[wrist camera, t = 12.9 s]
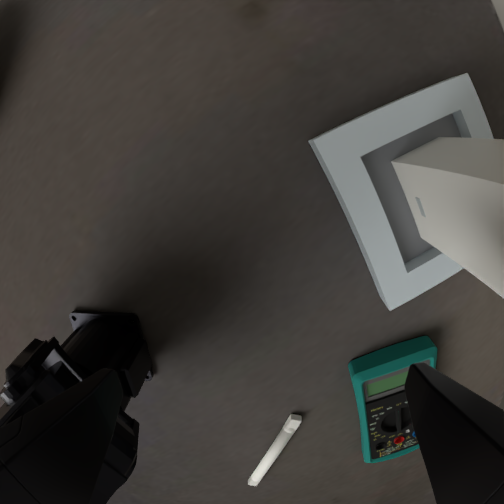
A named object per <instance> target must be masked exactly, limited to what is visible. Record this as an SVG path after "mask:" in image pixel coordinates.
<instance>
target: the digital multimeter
mask: <svg viewBox="0 0 504 504" xmlns="http://www.w3.org/2000/svg"><path fill="white" fill-rule="evenodd" d="M436 360H437V347H436V346H435V344H434V343H433V342H432V340H431V339H430V338H429V336H422V337H418V338H415V339H411V340H407V341H404V342H401V343H397V344H394V345H391V346H388V347H385V348H382V349H380V350H377V351H375V352H372V353H369V354H367V355H364V356H362V357H359V358H357V359H354V360H352V361H350V363H349V364H348V368H349V372H350V376H351V380H352V384H353V388H354V392H355V397H356V402H357V407H358V413H359V419H360V429H361V443H362V453H363V457H364V461H365V462H366V463H376V462H381V461H386V460H389V459H393V458H396V457H399V456H402V455H405V454H407V453H409V452H412V451H414V450H416V449H418V448H420V447H419V444H418V441H417V438H416V435H415V432H414V428H413V424H412V420H411V415H410V411H409V406H408V402H407V398H406V394H405V388H404V386H405V381H406V378H407V374H408V371H409V367H410V365H411V364H413V363H418V362H424V363H426V364H428V365H429V366H431V367H433V368H434V369H436ZM366 412H367V413H366ZM368 429H369V430H368Z"/></svg>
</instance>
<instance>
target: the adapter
mask: <svg viewBox="0 0 504 504" xmlns="http://www.w3.org/2000/svg"><path fill="white" fill-rule="evenodd" d="M391 163H392V165H393V167H394V169H395V172H396V174H397V176H398V179H399V181H400V184H401V186H402V188H403V191H404V193H405V196H406V198H407V201H408V204H409V206H410V209H411V211H412V214H413V217H414V220H415V222H416V225H417V228H418V231H419V234H420V237H421V238H422V239H423V240H425V241H426V242H428V243H429V244H431V245H432V246H434V247H435V248H437V249H438V250H439V251H441V252H442V253H444V254H445V255H447V256H448V257H449V258H451V259H452V260H454V261H455V262H456V263H458V264H459V265H461V266H462V267H463V268H465V269H466V270H467V271H469V272H470V273H471V274H473V275H474V276H475V277H477V278H478V279H479V280H481V281H482V282H483V283H485V284H486V285H487V286H488V287H490V288H491V289H492V290H494V291H495V292H496V293H497V294H499V295H500V296H501V297H502V298H504V140H503V139H486V138H460V137H438V138H436V139H434V140H432V141H430V142H428V143H426V144H424V145H422V146H420V147H418V148H416V149H414V150H412V151H410V152H408V153H406V154H404V155H402V156H400V157H398V158H396V159H395V160H393V161H391Z"/></svg>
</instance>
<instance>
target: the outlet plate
mask: <svg viewBox="0 0 504 504" xmlns="http://www.w3.org/2000/svg"><path fill="white" fill-rule="evenodd" d="M438 137H460V138H486V139H494V138H493V135H492V132H491V129H490V126H489V123H488V121H487V118H486V115H485V113H484V110H483V107H482V105H481V102H480V100H479V98H478V95H477V93H476V90H475V88H474V86H473V84H472V81H471V79H470V77H469V75H468V73H465V74H461V75H458V76H455V77H451V78H449V79H446V80H443V81H441V82H438V83H436V84H433V85H431V86H428V87H426V88H423V89H421V90H418V91H416V92H413V93H411V94H409V95H406V96H404V97H401V98H399V99H397V100H394V101H392V102H390V103H388V104H385V105H383V106H381V107H378V108H376V109H374V110H372V111H370V112H367V113H365V114H363V115H361V116H359V117H356V118H354V119H352V120H350V121H348V122H346V123H344V124H341V125H339V126H337V127H335V128H333V129H331V130H329V131H327V132H325V133H323V134H321V135H319V136H317V137H315V138H313V139H311V140H309V141H308V142H309V144H310V146H311V147H312V149H313V151H314V153H315V155H316V157H317V159H318V161H319V163H320V165H321V167H322V169H323V171H324V172H325V174H326V176H327V178H328V180H329V182H330V184H331V186H332V189H333V191H334V193H335V195H336V197H337V199H338V201H339V203H340V205H341V207H342V209H343V211H344V214H345V216H346V218H347V220H348V222H349V224H350V227H351V229H352V231H353V233H354V236H355V238H356V240H357V242H358V245H359V247H360V249H361V252H362V254H363V256H364V259H365V261H366V263H367V266H368V268H369V271H370V273H371V275H372V278H373V280H374V283H375V285H376V288H377V290H378V293H379V296H380V297H381V299H382V300H383V302H384V303H385V305H386V306H387V308H388V309H389V311H391V310H393V309H395V308H396V307H398V306H400V305H402V304H404V303H406V302H407V301H409V300H411V299H413V298H415V297H416V296H418V295H420V294H422V293H423V292H425V291H427V290H429V289H430V288H432V287H434V286H435V285H437V284H439V283H441V282H442V281H444V280H446V279H447V278H449V277H450V276H452V275H454V274H455V273H457V272H459V271H460V270H462V269H463V267H462V266H461V265H459V264H458V263H456V262H455V261H454V260H452V259H451V258H449V257H448V256H447V255H445V254H444V253H442V252H441V251H439V250H438V249H437V248H435V247H434V246H432V245H431V244H429V243H428V242H426V241H425V240H423V239H422V238H421V237H420V234H419V231H418V228H417V225H416V222H415V220H414V217H413V214H412V211H411V209H410V206H409V204H408V201H407V198H406V196H405V193H404V191H403V188H402V186H401V184H400V181H399V179H398V176H397V174H396V172H395V169H394V167H393V165H392V163H391V161H393V160H395V159H396V158H398V157H400V156H402V155H404V154H406V153H408V152H410V151H412V150H414V149H416V148H418V147H420V146H422V145H424V144H426V143H428V142H430V141H432V140H434V139H436V138H438Z"/></svg>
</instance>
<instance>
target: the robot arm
mask: <svg viewBox="0 0 504 504" xmlns="http://www.w3.org/2000/svg"><path fill="white" fill-rule="evenodd" d="M74 316H75V317H76V318H75V317H74ZM69 317H70V321H71V324H72V327H73V330H74V332H73V333H72V334H71V335H70V336H69V337H68V338H67V339H66V341H65V342H64V343H63V344H62V345H61V346H60V345H59V344H58V343H59V342H58V341H57V339H56V338H55V337H52V338H51V339H50V340H49V341H48V342H47V341H46V340H45V341H41V340H38V339H36V338H35V339H34V340H33V341H32V342H31V343H30V344H29V345H28V346H27V347H26V348H25V349H24V350H23V351H22V352H21V353H20V354H19V355H18V356H17V357H16V359H15V360H14V361H13V362H12V363H11V364H10V365H9V366H8V367H7V369H6V370H5V372H6V382H5V383H4V385H3V386H4V388H3V389H2V391H1V392H0V398H1V399H2V400H3V401H4V402H5V403H4V404H3V405H2V407H1V408H0V504H106V503H107V501H108V500H109V498H110V497H111V496H112V495H113V494H114V493H115V491H116V490H117V489H118V488H119V487H120V486H122V485H123V484H124V483H125V482H126V481H127V479H128V478H129V476H130V475H131V473H132V472H133V470H134V468H135V465H136V460H137V447H138V434H139V423H138V422H137V421H136V420H135V419H132V418H131V417H130V416H129V415H127V414H126V413H125V412H124V411H125V409H126V407H127V405H128V403H129V401H130V399H131V397H133V398H135V397H136V396H137V395H138V393H139V391H140V389H141V387H142V385H143V383H144V381H150V380H151V379H152V377H153V372H152V369H151V366H152V363H151V359H150V355H149V352H148V348H147V344H146V341H145V340H144V339H143V336H142V332H141V328H140V324H139V319H138V317H137V316H136V315H135V314H133V313H111V312H90V311H73V312H72V313H71V314H70V315H69ZM130 319H132V320H133V321H134V322H132V321H131V320H130ZM147 375H148V376H147ZM404 388H405V394H406V398H407V402H408V406H409V411H410V415H411V420H412V424H413V428H414V432H415V435H416V438H417V441H418V444H419V447H420V450H421V453H422V456H423V459H424V462H425V465H426V469H427V472H428V475H429V478H430V482H431V485H432V489H433V492H434V495H435V499H436V503H437V504H504V411H503V409H501V408H499V407H498V406H496V405H494V404H493V403H491V402H489V401H488V400H486V399H484V398H483V397H481V396H479V395H478V394H476V393H474V392H473V391H471V390H469V389H468V388H466V387H464V386H463V385H461V384H459V383H458V382H456V381H454V380H453V379H451V378H449V377H448V376H446V375H444V374H443V373H441V372H439V371H438V370H436V369H434V368H433V367H431V366H429V365H428V364H426V363H424V362H418V363H413V364H411V365H410V367H409V371H408V374H407V378H406V381H405V386H404Z"/></svg>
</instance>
